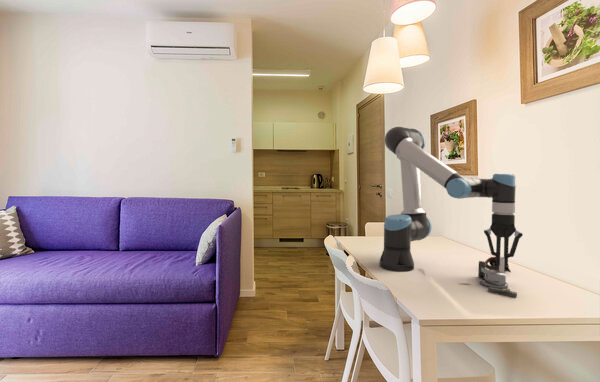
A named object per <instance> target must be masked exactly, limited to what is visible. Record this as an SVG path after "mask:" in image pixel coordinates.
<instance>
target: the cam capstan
mask: <svg viewBox="0 0 600 382" xmlns="http://www.w3.org/2000/svg"><path fill="white" fill-rule="evenodd" d="M477 274H478V275H477V276H478V277H479V278H480V279H479V284H480V285H481V286H483V287H487V288H489V287H494V288H499V289H503V290H505V289H506V288H508V289H509V284H508V283H507V274H506V271H504V272H502V271H498V270H490V269H488V268H486V262H485V261H483V260H479V261H478V273H477Z"/></svg>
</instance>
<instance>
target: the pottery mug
mask: <svg viewBox="0 0 600 382" xmlns="http://www.w3.org/2000/svg"><path fill="white" fill-rule="evenodd" d="M484 262H486V268H488V269H490V270H498V271H499V265H497V264H496V256H490V257H488V258H487V259H486V260H485V261H484ZM488 263H489V264H488ZM506 271H508V272H509V273H511V272H512V271H511V269H510V265H508V266H504V272H506Z"/></svg>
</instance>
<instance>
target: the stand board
mask: <svg viewBox="0 0 600 382" xmlns="http://www.w3.org/2000/svg"><path fill="white" fill-rule="evenodd" d="M457 284H458V285H462V286H463V285H465V286H472V284H471V283H468V282H467V283H465V282H457ZM487 289H488V290H487V291H488V293H492V294H496V295H500V296H505V297H509V298H513V299H514V298H515V299H516V298H517V297H518V292H516V291H513V290H512V291H511V289H510V288H509V287H508V288H506V289H499V288H494V287H487Z"/></svg>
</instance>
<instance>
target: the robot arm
mask: <svg viewBox="0 0 600 382" xmlns="http://www.w3.org/2000/svg"><path fill="white" fill-rule="evenodd" d="M384 144H385V146H386V148H387V149H388V150H389V151H390V152H391V153H393V154H394V155H395V156H396V158H397V159H398V160H399V162H400V172H401V173H400V176H401V177H400V178H401V189H402V191H401V192H402V206H403V210H402V211H401V212H400V214H398V213H397V214H391V215H387V216H386V217H385V218H384V224H383V251H382V252H381V256H380V259H379V267H380V268H383V269H385V270H388V271H395V272H407V271H412V270H414V269H415V262H414V259H413V256H412V252H411V244H412V243H411V242H416V241H421V240H423V239H426V238H427V237H428V236H429V235H430V233H431V232H432V228H433V226H432V223H431V220H430V219H429V218H428V217H427V211H426V210H425V209H424V208H423V199H422V185H421V182H422V181H421V172H423V173H424V174H425V175H426V176H428V177H429V178H431V179H432V180H433V181H434V182H436V183H438V185H440V186H441V187H443V188H444V189H445V190H446V192H447V194H448V195H449V196H450V197H452V198H454V199H457V200H459V199H468V198H469V199H470V198H489V199H490V198H491V199H492V201H491V202H492V203H491V213H492V214H491V225H490V226H489V228H488V229H484V230H483V232H484V234H485V236H486V239H487V242H488V247H489V250H490V255H492V256H493V257H496V264H497V265H499V271H502V272H505V271H504V266H509V259H510V258H514V256H515V252H516V250H517V247H518V245H519V241H520V239H521V238H522V237H523V232H521V231H519V230H517V228H516V225H515V224H516V223H515V220H516V218H515V217H516V215H515V214H516V213H515V212H516V188H517V184H516V176H515V174H513V173H494V174H492V178H466V177H464V176H463V175H461V174H459V173H458V172H457V171H455V170H454V169H453V168H452V167H450V166H448V165H447V164H446V163H444V162H443V161H441V160H440V159H438V158H437V157H435V156H434V155H432V154H431V153H430V152H428V151H427V150H425V147H426V137H425V135H424V133H423V132H422V131H420V130H417V129H415V128H409V127H403V126H395V127H392V128H391V129H388V131H387V132H386V133H385V135H384ZM492 233H493V235H494V236H495V237H496V247H495V249H496V250H495V249H494V244H493V242H492V241H493V240H492V237H491V234H492ZM512 235H514V238H513V242H512V243H511V248H510V251H509V241H510V239H509V238H510V237H511V236H512ZM502 238H503V256H501V242H502Z"/></svg>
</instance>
